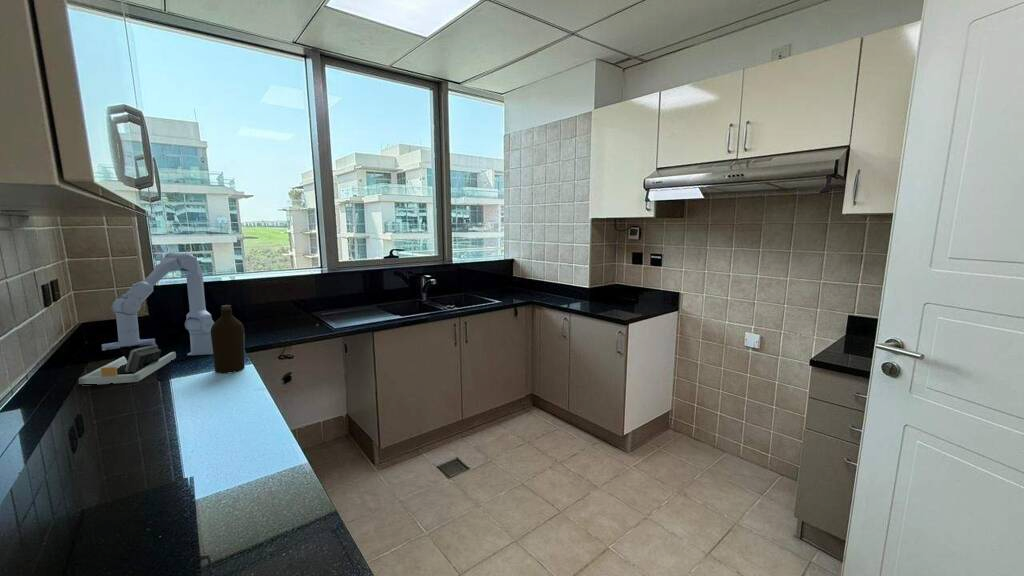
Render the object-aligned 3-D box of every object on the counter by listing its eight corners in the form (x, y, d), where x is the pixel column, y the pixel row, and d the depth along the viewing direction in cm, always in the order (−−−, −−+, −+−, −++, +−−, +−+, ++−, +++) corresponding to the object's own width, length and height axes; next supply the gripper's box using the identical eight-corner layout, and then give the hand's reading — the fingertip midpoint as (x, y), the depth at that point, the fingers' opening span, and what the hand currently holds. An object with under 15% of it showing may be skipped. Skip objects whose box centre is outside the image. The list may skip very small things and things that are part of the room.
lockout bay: (175, 357, 172) (174, 344, 171) (137, 381, 145) (136, 366, 144) (128, 360, 167) (127, 347, 166) (79, 385, 140) (77, 369, 139)
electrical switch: (150, 364, 161) (152, 342, 160) (161, 368, 161) (164, 346, 159) (124, 372, 152) (126, 349, 151) (135, 376, 151) (138, 353, 150)
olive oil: (223, 376, 153) (219, 309, 150) (207, 371, 158) (202, 306, 154) (252, 368, 162) (249, 305, 159) (236, 363, 167) (232, 302, 164)
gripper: (153, 325, 161) (156, 359, 163) (101, 330, 152) (104, 366, 153) (154, 329, 156) (157, 364, 158) (100, 334, 146) (103, 371, 148)
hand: (131, 365), depth 155 cm, fingers closed
